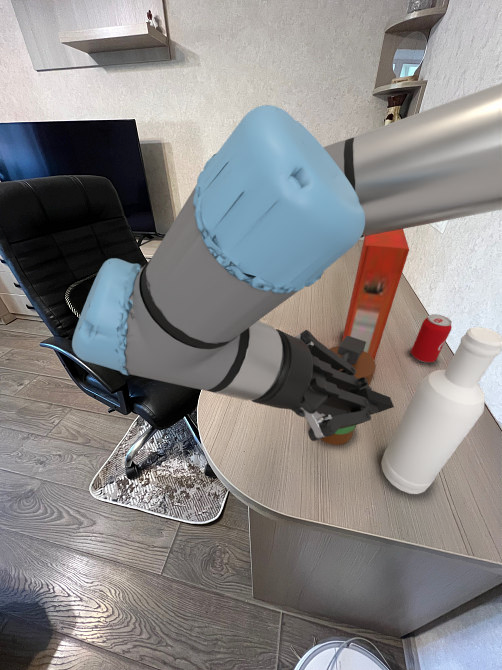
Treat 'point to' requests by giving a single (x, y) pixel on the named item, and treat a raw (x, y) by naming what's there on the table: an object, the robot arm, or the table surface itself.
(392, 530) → the table surface
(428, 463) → the bottle
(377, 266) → the file binder
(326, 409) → the dark rectangular block
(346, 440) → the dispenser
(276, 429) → the table surface
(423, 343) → the beverage can
